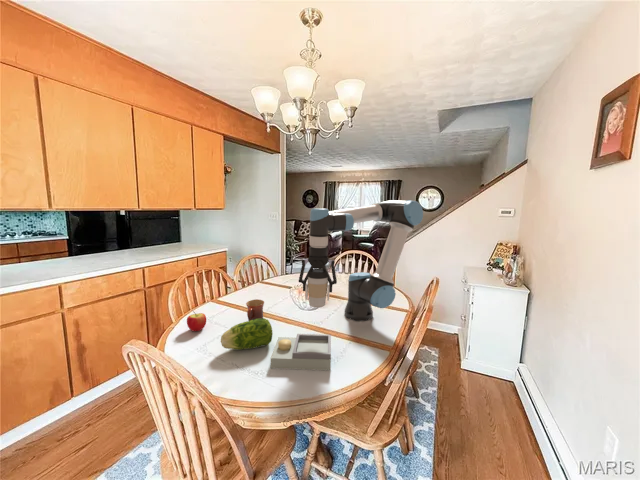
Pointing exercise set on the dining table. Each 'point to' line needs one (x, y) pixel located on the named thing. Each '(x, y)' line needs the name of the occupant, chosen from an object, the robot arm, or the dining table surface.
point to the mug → (255, 309)
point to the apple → (196, 321)
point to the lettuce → (248, 335)
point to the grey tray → (302, 352)
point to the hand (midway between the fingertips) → (317, 298)
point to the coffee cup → (317, 287)
